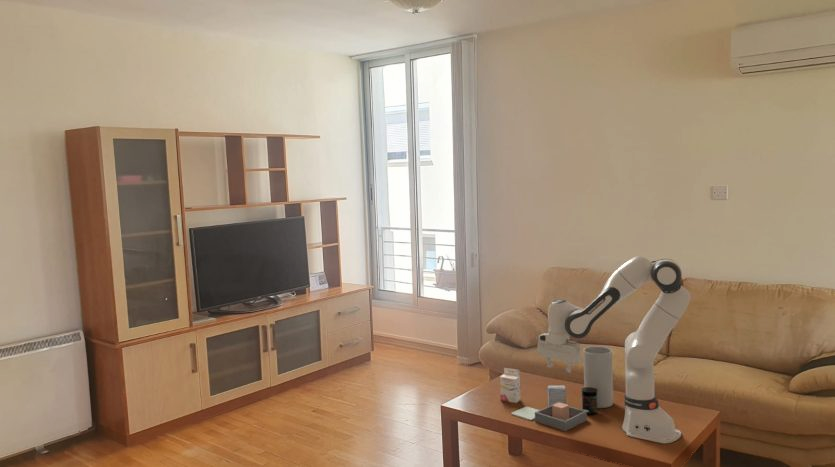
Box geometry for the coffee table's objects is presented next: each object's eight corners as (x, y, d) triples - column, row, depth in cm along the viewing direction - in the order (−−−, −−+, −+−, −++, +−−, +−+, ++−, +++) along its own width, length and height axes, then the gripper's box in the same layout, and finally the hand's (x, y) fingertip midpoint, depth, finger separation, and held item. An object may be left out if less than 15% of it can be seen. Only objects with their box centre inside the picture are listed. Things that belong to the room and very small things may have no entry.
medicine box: (565, 403, 285) (564, 385, 284) (566, 407, 281) (566, 388, 280) (547, 403, 286) (547, 385, 285) (548, 407, 282) (548, 388, 281)
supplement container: (600, 412, 273) (600, 389, 272) (593, 416, 268) (593, 393, 267) (586, 408, 278) (585, 386, 277) (579, 413, 273) (578, 390, 272)
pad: (546, 413, 274) (546, 412, 274) (530, 420, 267) (530, 419, 267) (526, 407, 282) (526, 406, 282) (511, 414, 275) (511, 413, 275)
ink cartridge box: (500, 400, 293) (498, 370, 291) (504, 397, 297) (503, 367, 295) (516, 403, 288) (515, 372, 287) (521, 399, 292) (520, 369, 291)
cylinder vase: (618, 404, 281) (618, 350, 279) (601, 410, 274) (599, 355, 272) (596, 396, 292) (595, 345, 289) (579, 403, 285) (577, 350, 282)
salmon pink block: (569, 420, 265) (568, 405, 264) (562, 424, 262) (561, 408, 261) (559, 417, 269) (559, 402, 268) (552, 421, 265) (552, 405, 265)
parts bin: (586, 420, 265) (586, 411, 264) (565, 431, 254) (565, 421, 254) (556, 411, 276) (556, 402, 276) (535, 421, 266) (534, 412, 266)
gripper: (584, 340, 256) (584, 373, 258) (543, 332, 272) (544, 363, 273) (575, 343, 252) (575, 376, 253) (535, 335, 267) (535, 366, 269)
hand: (559, 369), depth 263 cm, fingers open, 8 cm apart
